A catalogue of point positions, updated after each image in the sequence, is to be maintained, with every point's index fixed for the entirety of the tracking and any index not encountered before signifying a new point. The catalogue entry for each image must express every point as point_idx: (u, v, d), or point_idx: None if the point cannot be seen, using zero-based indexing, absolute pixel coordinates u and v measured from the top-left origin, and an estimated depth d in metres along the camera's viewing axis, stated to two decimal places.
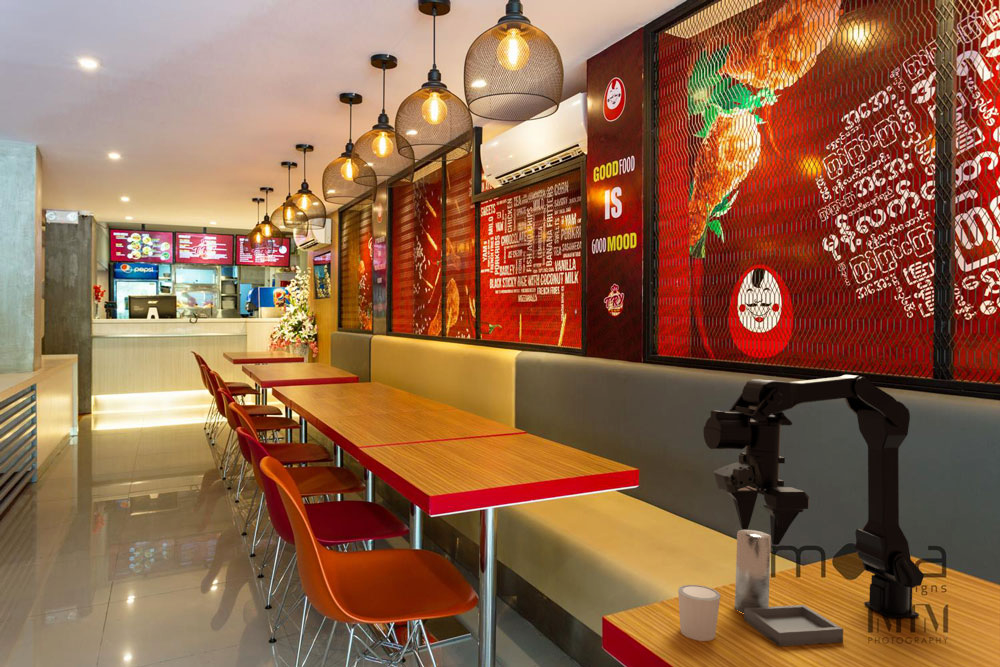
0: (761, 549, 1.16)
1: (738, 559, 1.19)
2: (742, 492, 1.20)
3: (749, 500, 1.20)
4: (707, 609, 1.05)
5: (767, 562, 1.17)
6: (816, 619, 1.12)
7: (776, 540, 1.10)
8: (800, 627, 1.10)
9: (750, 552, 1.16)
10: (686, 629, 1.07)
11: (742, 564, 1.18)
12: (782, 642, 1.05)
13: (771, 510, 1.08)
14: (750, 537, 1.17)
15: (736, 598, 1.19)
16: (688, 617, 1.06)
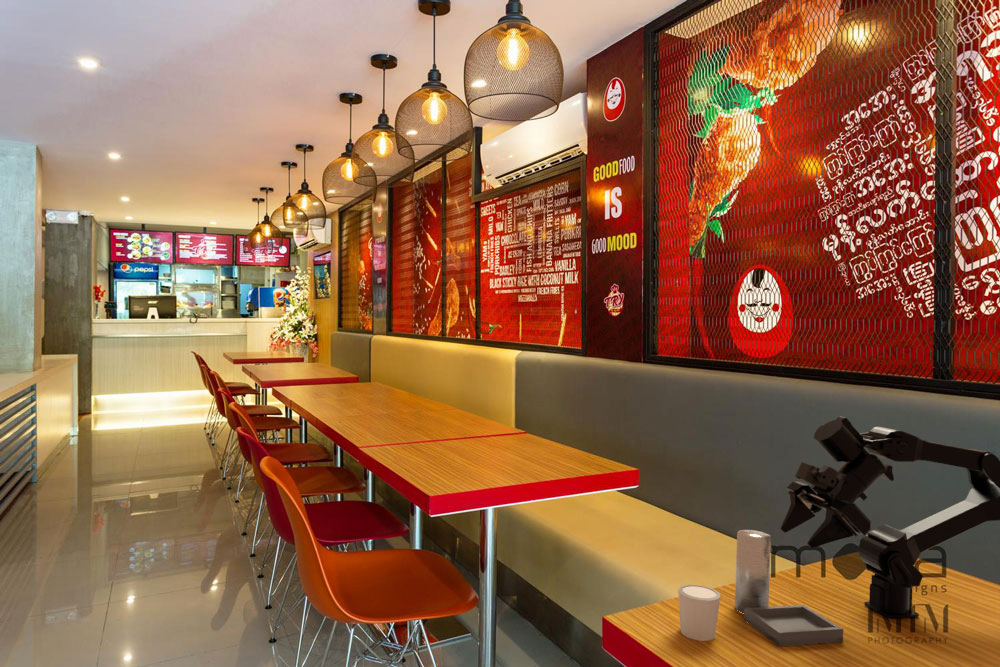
0: (761, 549, 1.16)
1: (738, 559, 1.19)
2: (803, 504, 1.25)
3: (803, 515, 1.25)
4: (707, 609, 1.05)
5: (767, 562, 1.17)
6: (816, 619, 1.12)
7: (813, 542, 1.15)
8: (800, 627, 1.10)
9: (750, 552, 1.16)
10: (686, 629, 1.07)
11: (742, 564, 1.18)
12: (782, 642, 1.05)
13: (832, 513, 1.13)
14: (750, 537, 1.17)
15: (736, 598, 1.19)
16: (688, 617, 1.06)
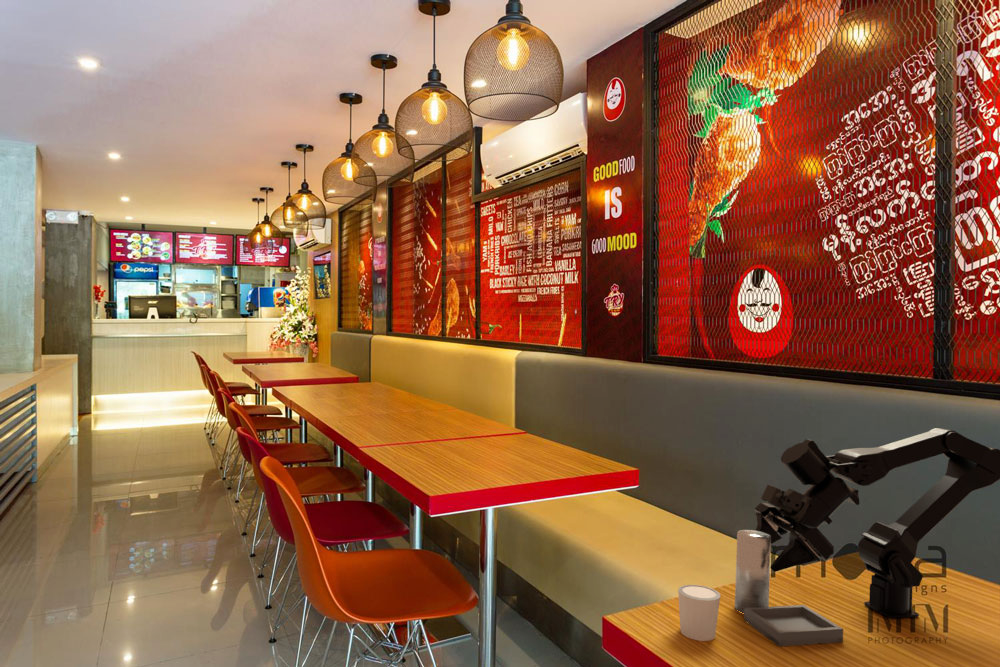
0: (761, 549, 1.16)
1: (738, 559, 1.19)
2: (769, 526, 1.25)
3: None
4: (707, 609, 1.05)
5: (767, 562, 1.17)
6: (816, 619, 1.12)
7: (776, 566, 1.14)
8: (800, 627, 1.10)
9: (750, 552, 1.16)
10: (686, 629, 1.07)
11: (742, 564, 1.18)
12: (782, 642, 1.05)
13: (795, 537, 1.12)
14: (750, 537, 1.17)
15: (736, 598, 1.19)
16: (688, 617, 1.06)
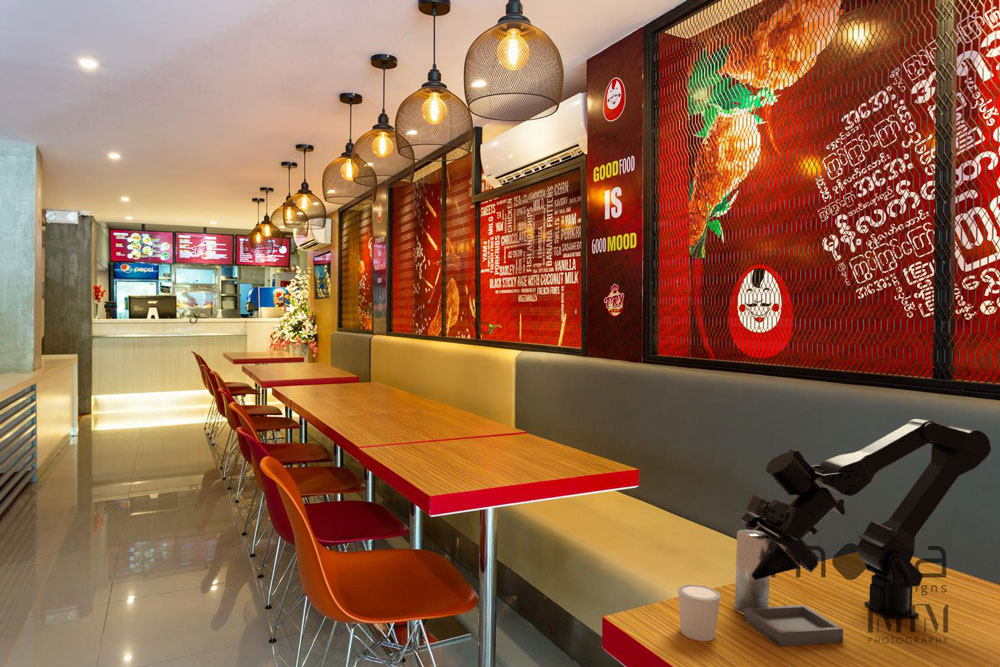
0: (761, 549, 1.16)
1: (738, 559, 1.18)
2: None
3: None
4: (707, 609, 1.05)
5: None
6: (816, 619, 1.12)
7: (757, 574, 1.15)
8: (800, 627, 1.10)
9: (750, 552, 1.16)
10: (686, 629, 1.07)
11: (742, 564, 1.17)
12: (782, 642, 1.05)
13: (776, 545, 1.14)
14: (750, 537, 1.17)
15: (736, 598, 1.19)
16: (688, 617, 1.06)
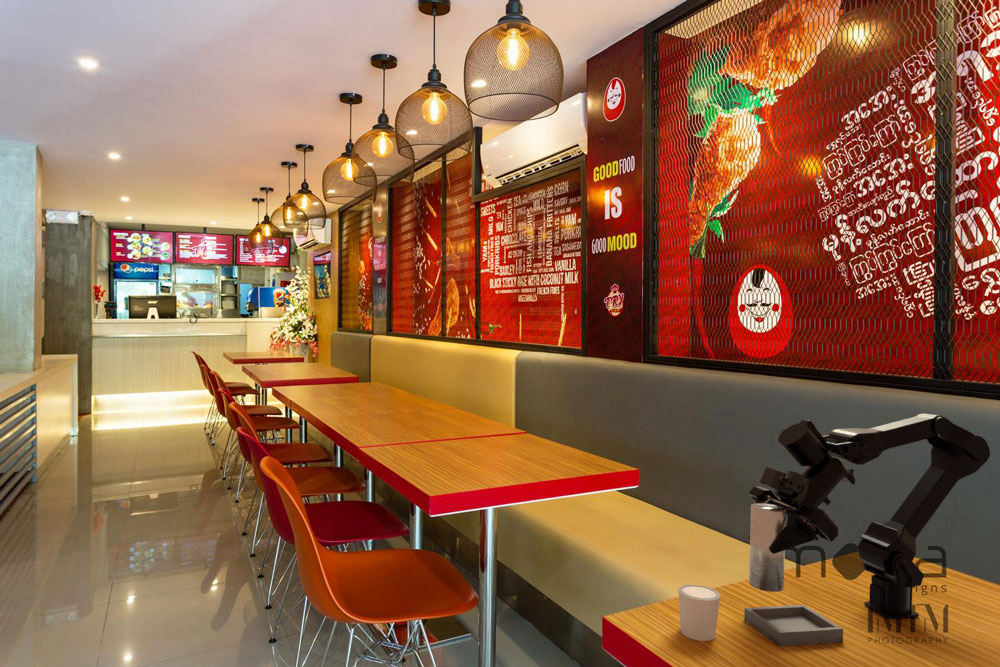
0: (778, 522, 1.13)
1: (753, 533, 1.15)
2: None
3: None
4: (707, 609, 1.05)
5: None
6: (816, 619, 1.12)
7: (775, 548, 1.12)
8: (800, 627, 1.10)
9: (767, 525, 1.13)
10: (686, 629, 1.07)
11: (758, 538, 1.14)
12: (782, 642, 1.05)
13: (795, 517, 1.11)
14: (766, 510, 1.14)
15: (751, 574, 1.15)
16: (688, 617, 1.06)
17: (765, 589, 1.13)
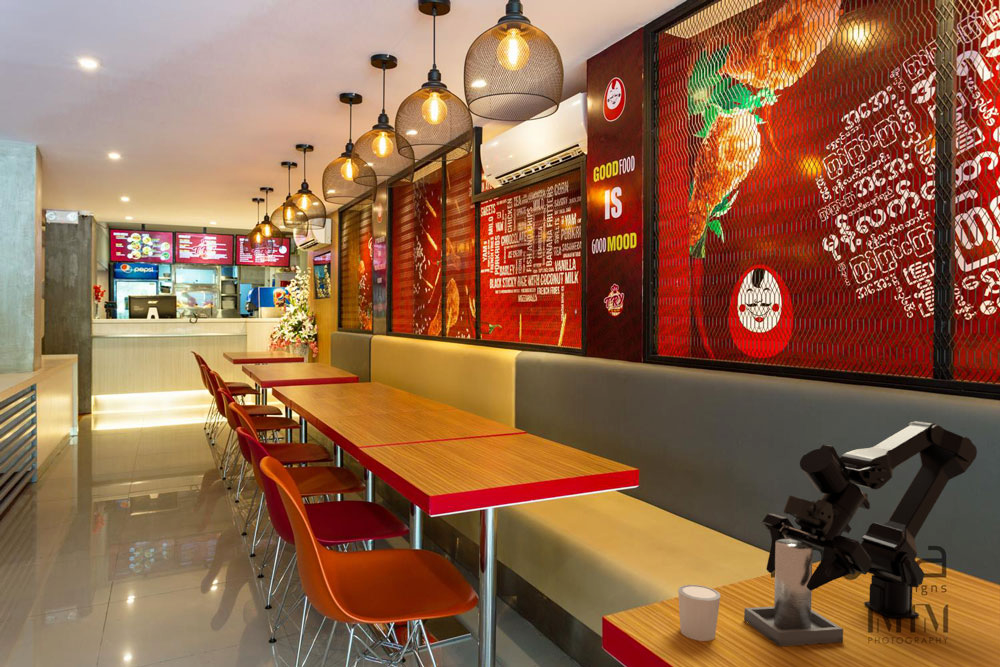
0: (808, 560, 1.08)
1: (781, 573, 1.09)
2: None
3: None
4: (707, 609, 1.05)
5: (811, 573, 1.09)
6: (816, 619, 1.12)
7: (813, 584, 1.06)
8: None
9: (798, 565, 1.08)
10: (686, 629, 1.07)
11: (787, 578, 1.08)
12: (782, 642, 1.05)
13: (834, 551, 1.05)
14: (796, 549, 1.08)
15: (779, 615, 1.10)
16: (688, 617, 1.06)
17: None
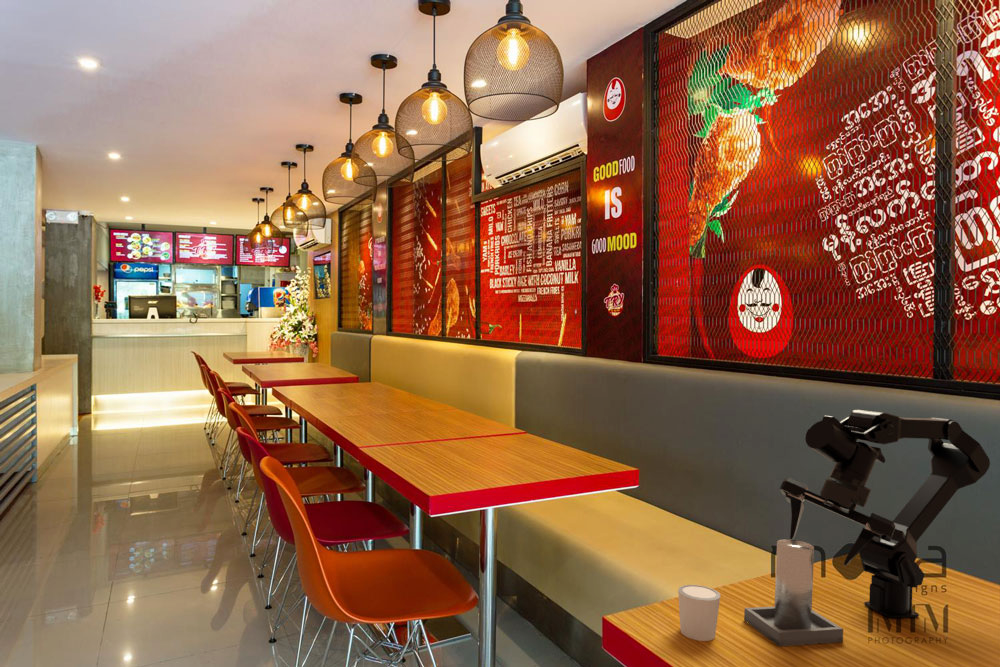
0: (809, 560, 1.08)
1: (782, 573, 1.09)
2: (802, 504, 1.19)
3: (801, 513, 1.20)
4: (707, 609, 1.05)
5: (812, 573, 1.09)
6: (816, 619, 1.12)
7: (849, 561, 1.12)
8: None
9: (799, 565, 1.08)
10: (686, 629, 1.07)
11: (788, 578, 1.09)
12: (782, 642, 1.05)
13: (874, 535, 1.10)
14: (797, 548, 1.09)
15: (779, 615, 1.10)
16: (688, 617, 1.06)
17: None
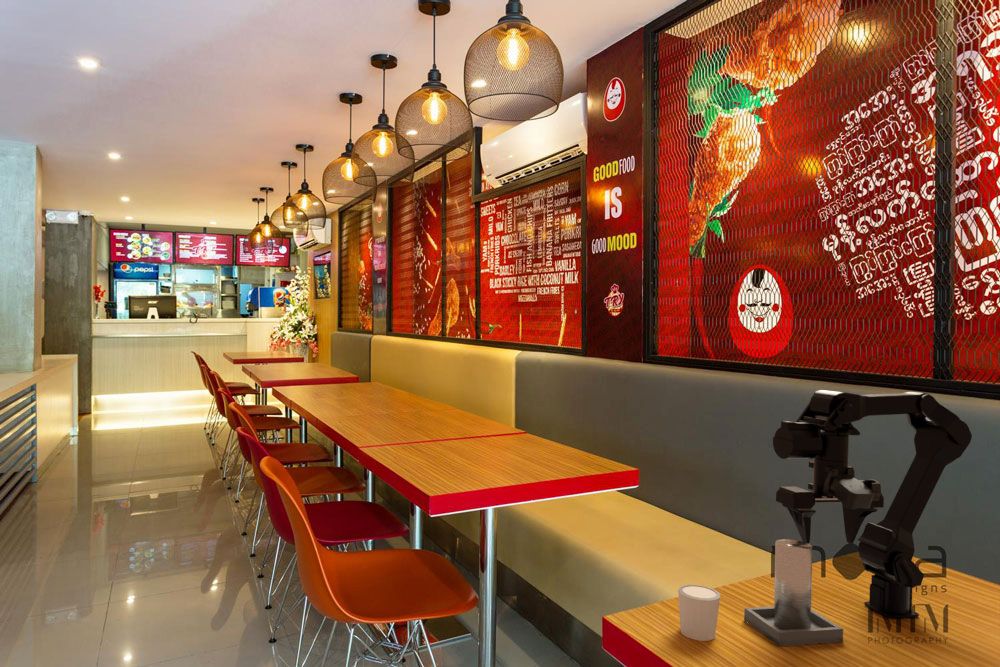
0: (807, 560, 1.08)
1: (781, 573, 1.10)
2: None
3: None
4: (707, 609, 1.05)
5: (811, 573, 1.09)
6: (816, 619, 1.12)
7: None
8: None
9: (797, 564, 1.08)
10: (686, 629, 1.07)
11: (787, 578, 1.09)
12: (782, 642, 1.05)
13: (873, 511, 1.17)
14: (795, 548, 1.09)
15: (779, 615, 1.10)
16: (688, 617, 1.06)
17: None
